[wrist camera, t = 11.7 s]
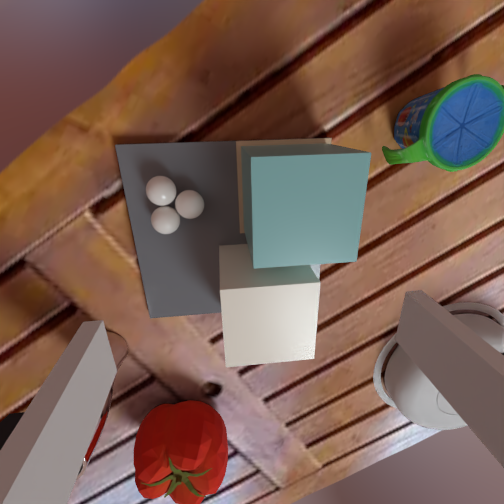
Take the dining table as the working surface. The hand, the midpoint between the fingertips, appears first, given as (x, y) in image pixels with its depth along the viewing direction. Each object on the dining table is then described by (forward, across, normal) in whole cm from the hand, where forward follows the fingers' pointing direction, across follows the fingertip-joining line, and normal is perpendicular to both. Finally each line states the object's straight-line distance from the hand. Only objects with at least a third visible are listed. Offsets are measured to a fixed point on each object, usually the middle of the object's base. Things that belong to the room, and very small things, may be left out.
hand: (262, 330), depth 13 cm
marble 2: (+22, -7, -1) cm, 23 cm away
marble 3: (+22, -4, +1) cm, 22 cm away
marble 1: (+22, -7, +2) cm, 23 cm away
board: (+23, 0, -4) cm, 23 cm away
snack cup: (+23, +21, +8) cm, 32 cm away
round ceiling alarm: (+23, +33, -29) cm, 50 cm away
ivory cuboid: (+22, +3, -9) cm, 24 cm away
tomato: (+24, -9, -34) cm, 43 cm away
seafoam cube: (+21, +6, +2) cm, 22 cm away
